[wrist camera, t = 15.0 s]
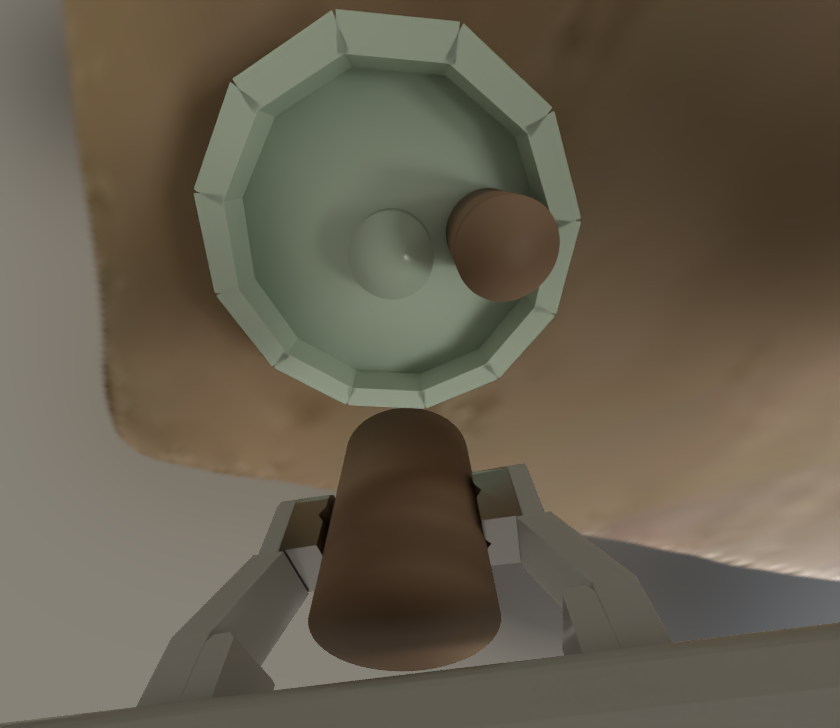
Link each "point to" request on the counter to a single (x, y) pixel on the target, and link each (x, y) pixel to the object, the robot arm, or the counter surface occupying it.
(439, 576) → the brown short cylinder
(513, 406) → the counter surface
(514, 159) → the tray
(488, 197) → the bead
